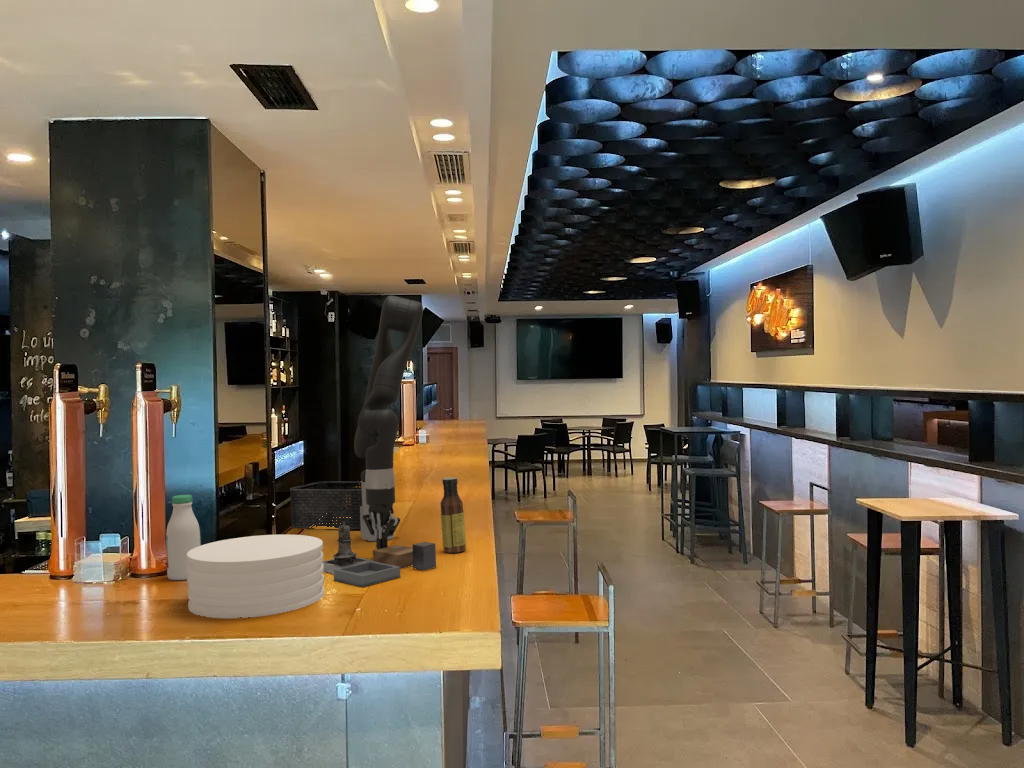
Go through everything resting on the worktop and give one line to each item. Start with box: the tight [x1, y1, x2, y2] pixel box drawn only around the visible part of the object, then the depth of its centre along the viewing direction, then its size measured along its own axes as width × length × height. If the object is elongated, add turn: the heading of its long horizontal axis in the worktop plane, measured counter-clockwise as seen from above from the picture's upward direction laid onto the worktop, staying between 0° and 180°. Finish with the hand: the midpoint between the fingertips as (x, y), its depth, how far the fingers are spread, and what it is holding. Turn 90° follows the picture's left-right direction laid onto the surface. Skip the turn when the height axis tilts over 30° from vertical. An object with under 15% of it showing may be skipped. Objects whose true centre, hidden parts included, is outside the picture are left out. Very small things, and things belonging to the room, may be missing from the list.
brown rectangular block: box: [372, 544, 413, 570], centre depth 200 cm, size 10×8×4 cm
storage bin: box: [289, 480, 362, 530], centre depth 261 cm, size 29×19×13 cm
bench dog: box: [411, 541, 437, 571], centre depth 194 cm, size 4×4×6 cm
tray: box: [333, 560, 401, 588], centre depth 185 cm, size 11×11×2 cm
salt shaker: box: [332, 522, 358, 566], centre depth 196 cm, size 6×6×12 cm
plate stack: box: [187, 534, 325, 619], centre depth 170 cm, size 28×28×12 cm
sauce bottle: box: [440, 477, 467, 554], centre depth 213 cm, size 6×6×20 cm
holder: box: [322, 556, 373, 575], centre depth 196 cm, size 10×10×2 cm
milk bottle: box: [165, 494, 202, 581], centre depth 193 cm, size 8×8×20 cm
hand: (382, 552), depth 205 cm, fingers closed
